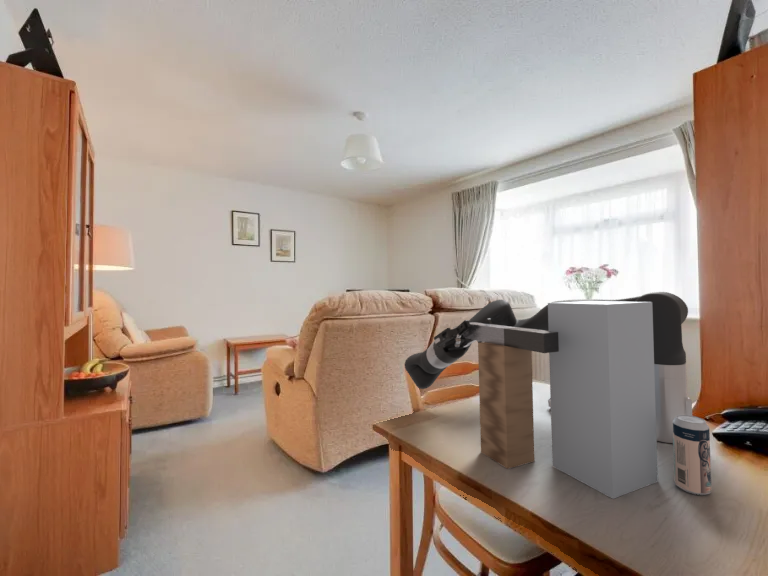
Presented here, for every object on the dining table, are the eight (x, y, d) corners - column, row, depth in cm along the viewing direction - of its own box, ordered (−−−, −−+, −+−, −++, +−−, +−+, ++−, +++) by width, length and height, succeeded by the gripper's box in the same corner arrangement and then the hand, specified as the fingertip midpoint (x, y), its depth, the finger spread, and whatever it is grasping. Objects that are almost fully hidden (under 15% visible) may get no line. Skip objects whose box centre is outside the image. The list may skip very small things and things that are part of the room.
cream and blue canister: (714, 500, 57) (712, 426, 57) (676, 492, 60) (674, 420, 60) (707, 486, 61) (705, 416, 61) (672, 478, 64) (670, 412, 64)
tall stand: (594, 453, 74) (590, 300, 74) (657, 481, 63) (652, 301, 63) (552, 466, 69) (547, 302, 70) (612, 498, 58) (607, 304, 59)
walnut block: (480, 452, 76) (477, 342, 76) (506, 445, 79) (503, 340, 79) (507, 468, 69) (504, 347, 69) (534, 461, 72) (531, 344, 72)
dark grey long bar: (457, 336, 86) (457, 322, 86) (469, 335, 88) (469, 321, 88) (544, 353, 62) (543, 333, 62) (558, 351, 64) (558, 332, 64)
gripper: (472, 361, 96) (510, 335, 82) (425, 366, 90) (458, 340, 77) (463, 335, 99) (498, 307, 86) (418, 339, 94) (448, 309, 80)
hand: (479, 323), depth 81 cm, fingers open, 5 cm apart
